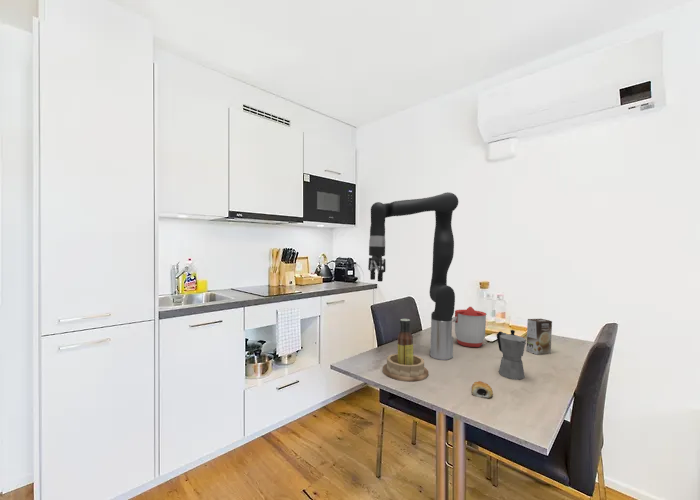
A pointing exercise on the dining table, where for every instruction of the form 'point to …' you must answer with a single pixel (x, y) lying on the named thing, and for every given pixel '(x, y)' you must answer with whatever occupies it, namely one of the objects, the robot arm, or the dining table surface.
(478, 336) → the citrus juicer
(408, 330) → the sauce bottle
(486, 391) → the pastry
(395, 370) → the bottle holder
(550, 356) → the dining table surface
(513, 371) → the coffeepot
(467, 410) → the dining table surface
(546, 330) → the coffee box
